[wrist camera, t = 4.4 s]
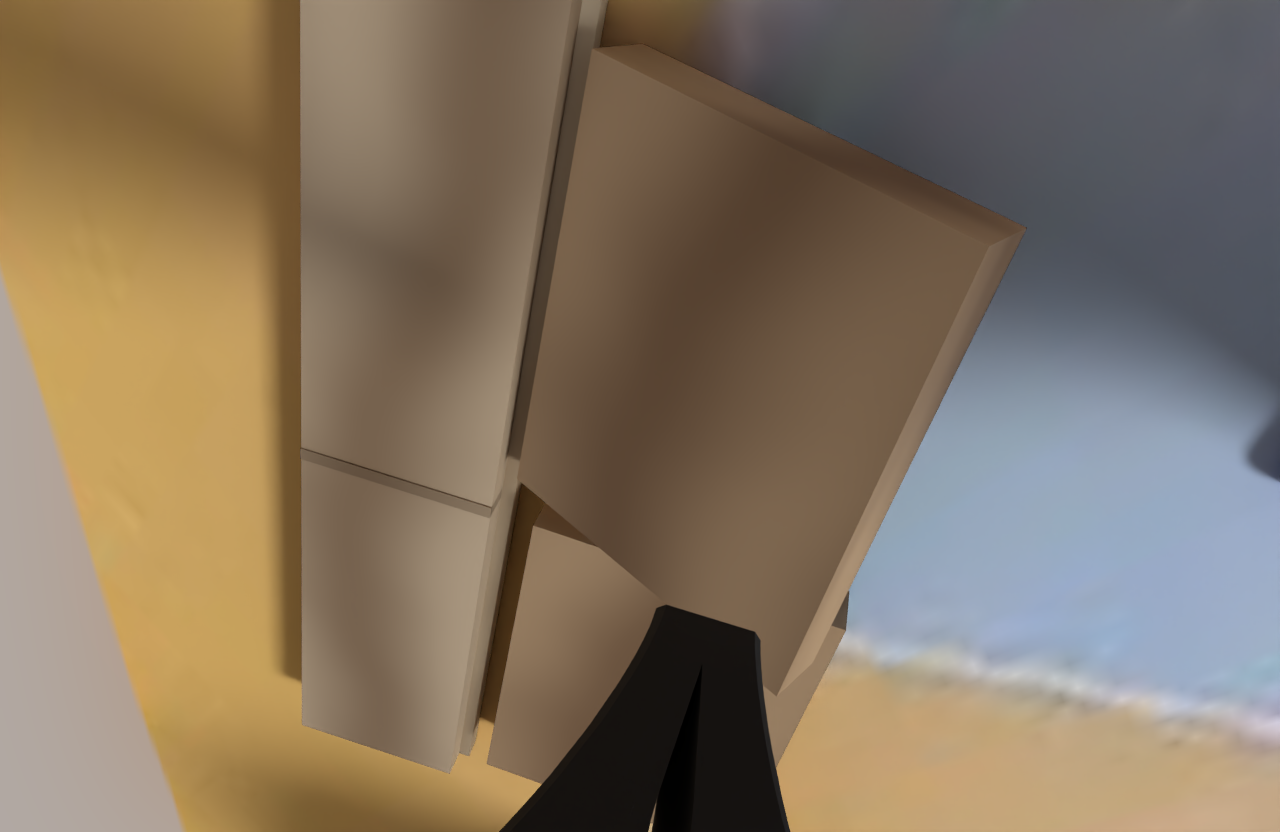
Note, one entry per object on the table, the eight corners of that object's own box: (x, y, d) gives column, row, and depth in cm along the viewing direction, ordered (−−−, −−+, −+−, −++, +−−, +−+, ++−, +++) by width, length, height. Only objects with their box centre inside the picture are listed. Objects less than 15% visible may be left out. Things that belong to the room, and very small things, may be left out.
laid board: (613, -33, 15) (593, -19, 14) (475, 741, 27) (459, 778, 26) (337, -110, 15) (298, -102, 14) (322, 691, 28) (301, 726, 27)
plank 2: (849, 591, 21) (845, 630, 20) (739, 812, 26) (733, 851, 25) (550, 492, 21) (533, 525, 20) (502, 728, 27) (486, 763, 26)
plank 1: (1027, 228, 12) (990, 246, 12) (812, 662, 18) (776, 696, 17) (642, 43, 16) (592, 47, 15) (557, 458, 21) (516, 478, 20)
